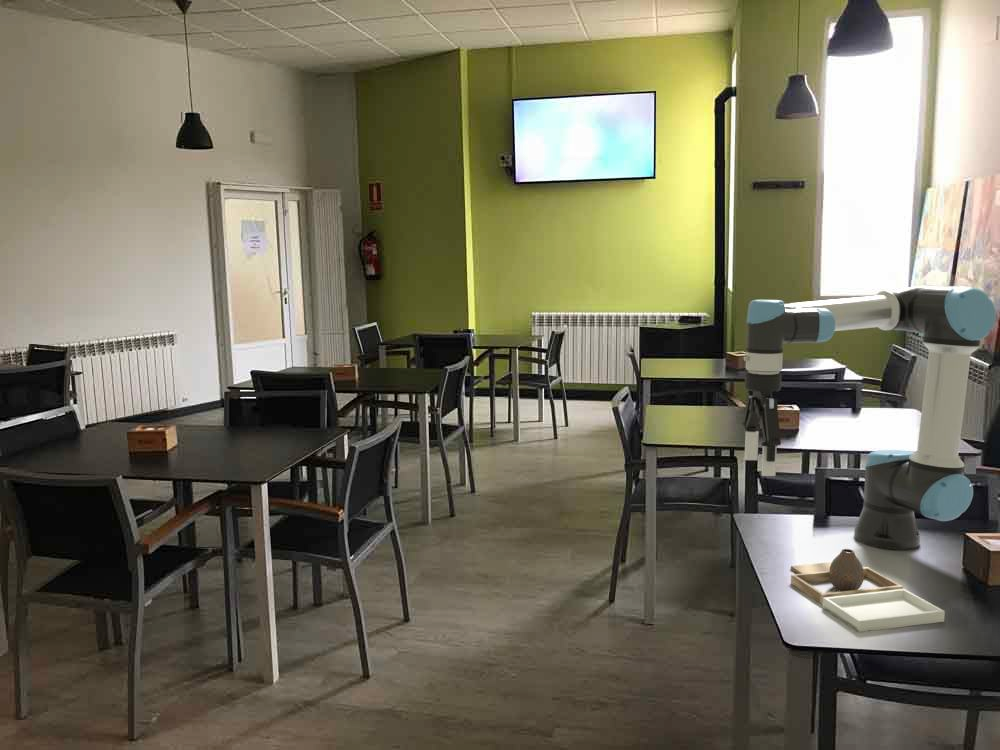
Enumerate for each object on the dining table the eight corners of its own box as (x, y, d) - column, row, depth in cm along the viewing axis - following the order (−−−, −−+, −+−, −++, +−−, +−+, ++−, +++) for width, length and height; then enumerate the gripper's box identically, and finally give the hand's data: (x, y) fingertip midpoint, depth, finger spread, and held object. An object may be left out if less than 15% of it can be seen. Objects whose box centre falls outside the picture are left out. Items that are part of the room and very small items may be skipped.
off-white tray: (903, 598, 176) (904, 588, 175) (944, 621, 165) (944, 611, 164) (822, 607, 171) (823, 597, 171) (858, 632, 160) (859, 621, 160)
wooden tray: (867, 575, 189) (867, 566, 188) (902, 595, 178) (902, 586, 177) (790, 583, 184) (791, 574, 184) (822, 604, 173) (822, 595, 173)
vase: (842, 597, 177) (845, 557, 175) (821, 585, 183) (823, 546, 182) (869, 593, 178) (872, 554, 177) (848, 581, 185) (850, 543, 184)
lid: (843, 564, 195) (844, 560, 195) (860, 573, 190) (860, 570, 189) (790, 569, 192) (790, 566, 192) (806, 579, 186) (806, 575, 186)
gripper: (731, 364, 192) (728, 453, 195) (762, 380, 168) (758, 482, 171) (764, 364, 192) (760, 453, 195) (799, 380, 167) (795, 482, 170)
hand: (759, 467), depth 183 cm, fingers open, 13 cm apart
